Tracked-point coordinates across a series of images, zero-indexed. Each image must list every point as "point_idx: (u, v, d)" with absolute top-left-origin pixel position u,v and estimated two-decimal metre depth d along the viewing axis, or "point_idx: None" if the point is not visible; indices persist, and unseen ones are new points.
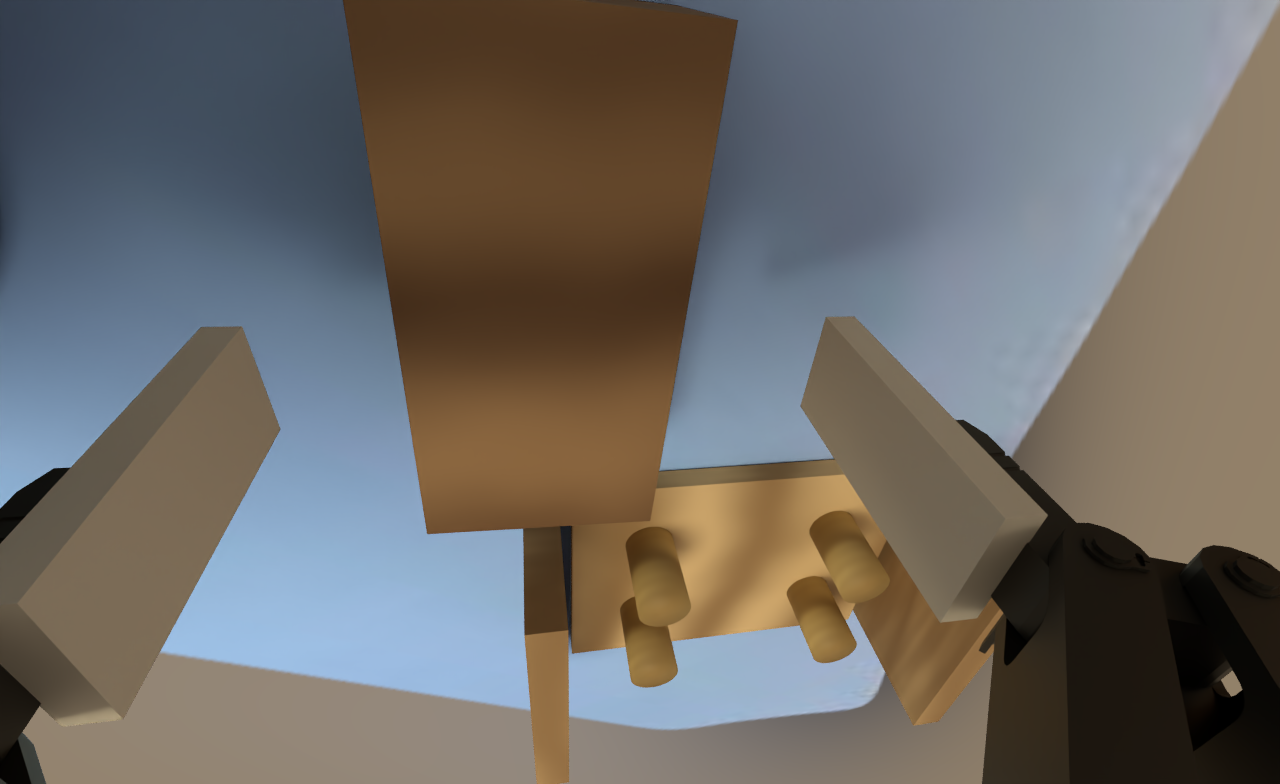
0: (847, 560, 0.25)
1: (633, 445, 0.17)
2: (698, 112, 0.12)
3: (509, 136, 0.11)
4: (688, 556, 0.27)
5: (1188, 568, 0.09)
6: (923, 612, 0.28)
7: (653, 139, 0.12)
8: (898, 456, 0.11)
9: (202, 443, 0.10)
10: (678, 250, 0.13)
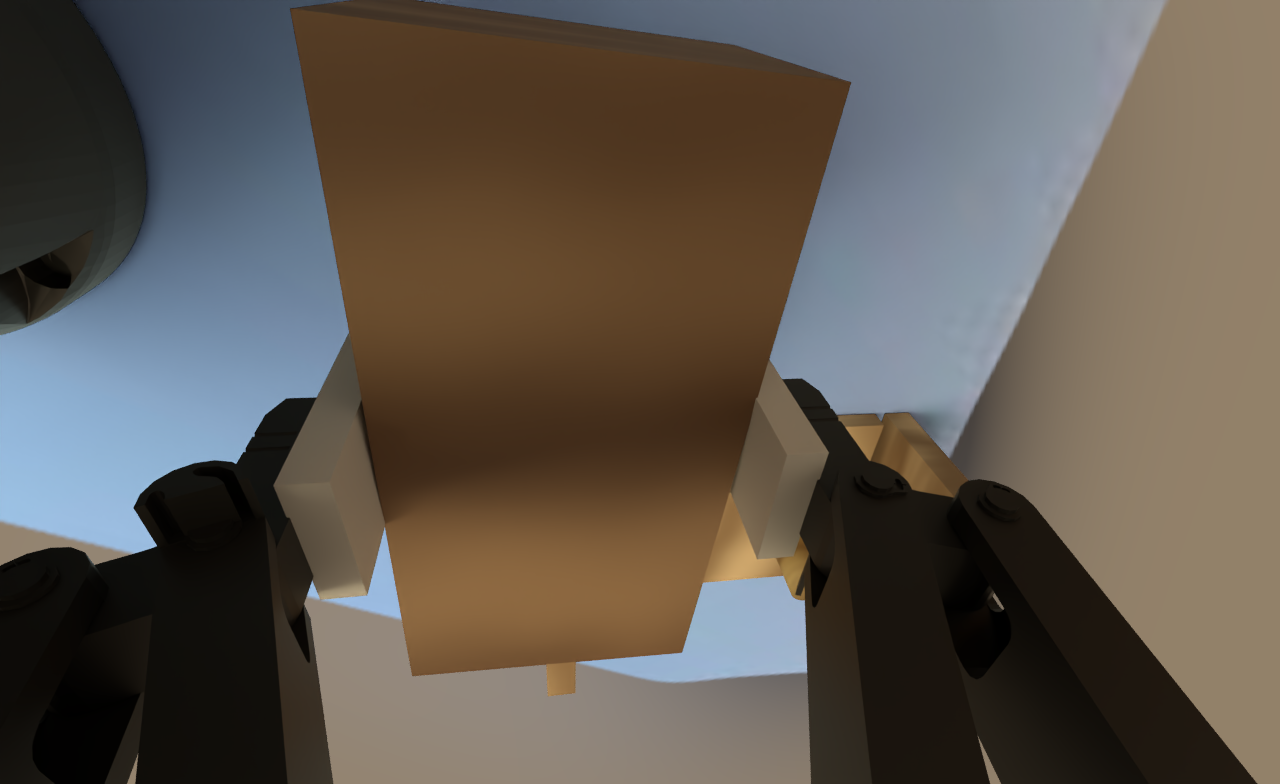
0: None
1: (668, 577, 0.14)
2: (785, 199, 0.09)
3: (530, 229, 0.08)
4: None
5: (952, 507, 0.09)
6: None
7: (724, 233, 0.09)
8: None
9: None
10: (743, 364, 0.10)
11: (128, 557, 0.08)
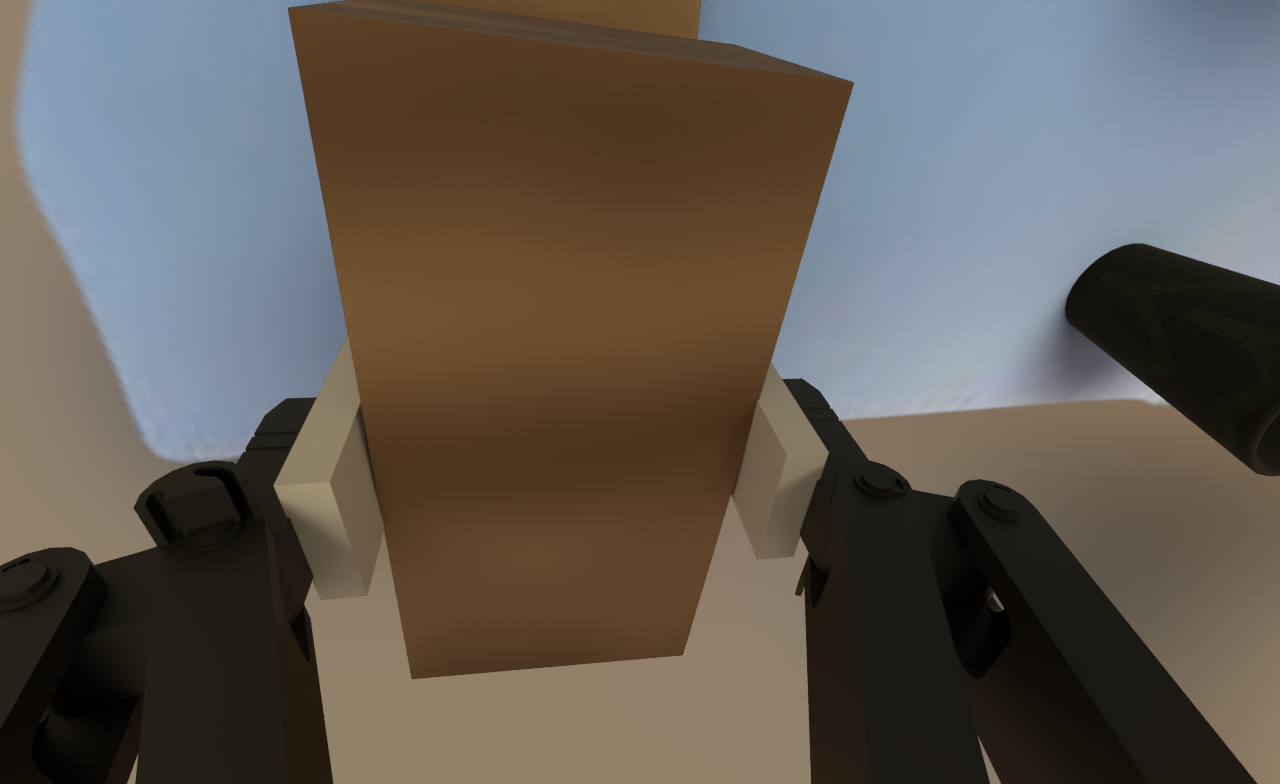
0: None
1: (669, 580, 0.14)
2: (788, 200, 0.09)
3: (530, 231, 0.08)
4: None
5: (952, 507, 0.09)
6: None
7: (725, 235, 0.09)
8: None
9: None
10: (744, 366, 0.10)
11: (128, 557, 0.08)
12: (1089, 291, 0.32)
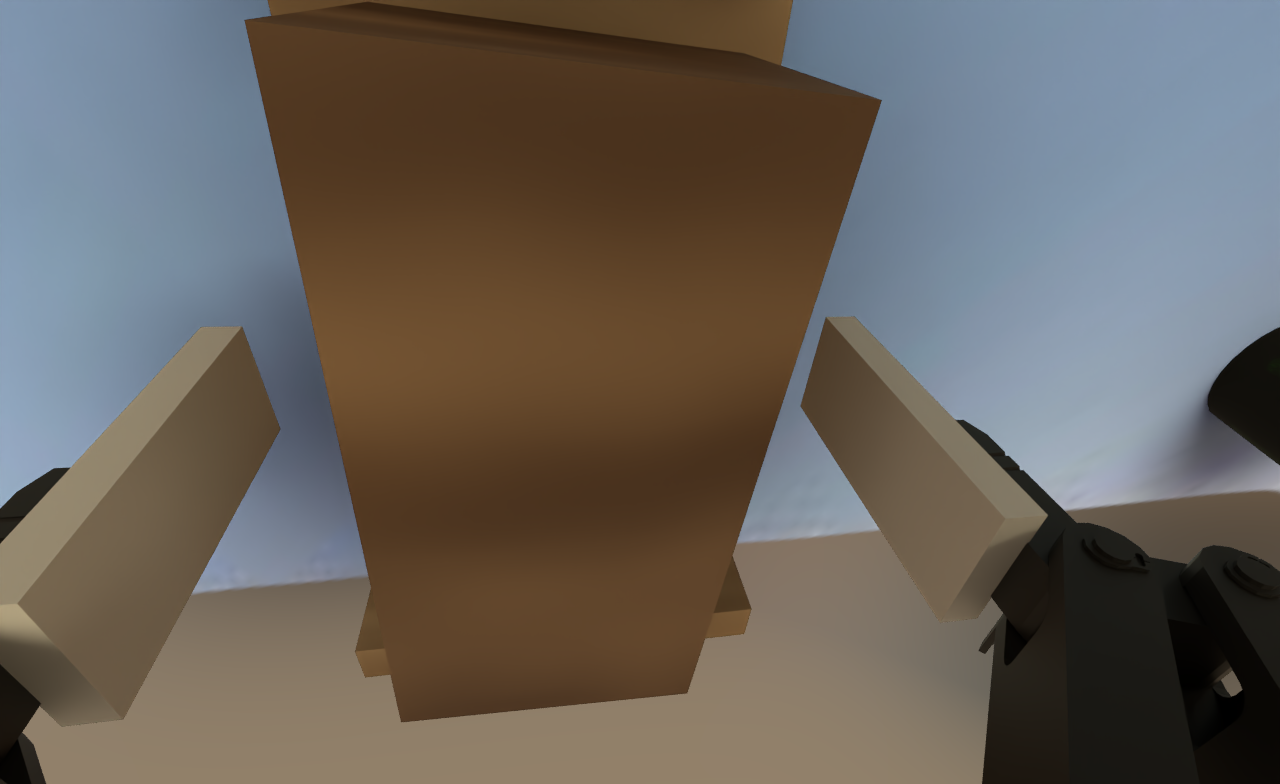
0: None
1: (673, 619, 0.13)
2: (806, 228, 0.08)
3: (523, 262, 0.08)
4: None
5: (1188, 568, 0.09)
6: None
7: (737, 264, 0.08)
8: (898, 456, 0.11)
9: (202, 443, 0.10)
10: (756, 402, 0.10)
11: None
12: (1250, 380, 0.25)
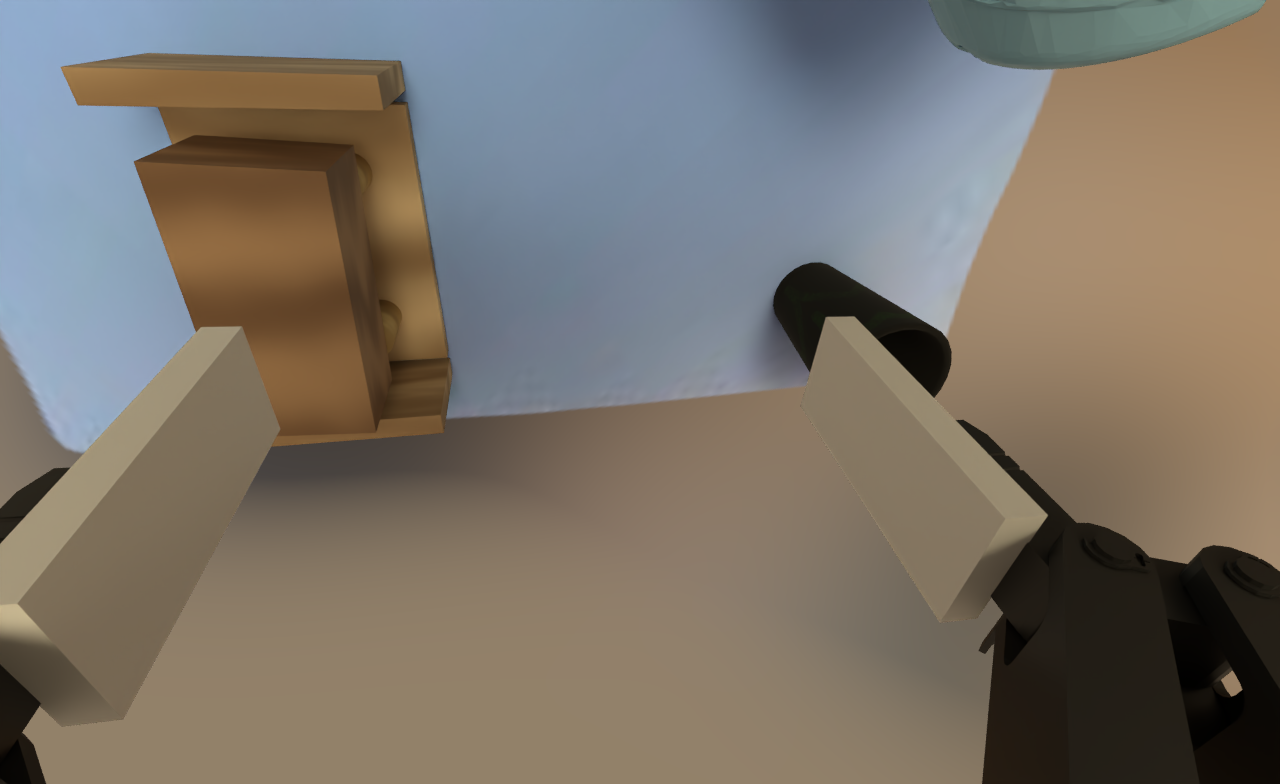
0: (389, 323, 0.35)
1: (347, 383, 0.30)
2: (320, 210, 0.25)
3: (228, 223, 0.25)
4: None
5: (1188, 568, 0.09)
6: None
7: (301, 222, 0.25)
8: (898, 456, 0.11)
9: (202, 443, 0.10)
10: (334, 274, 0.27)
11: None
12: (779, 300, 0.43)
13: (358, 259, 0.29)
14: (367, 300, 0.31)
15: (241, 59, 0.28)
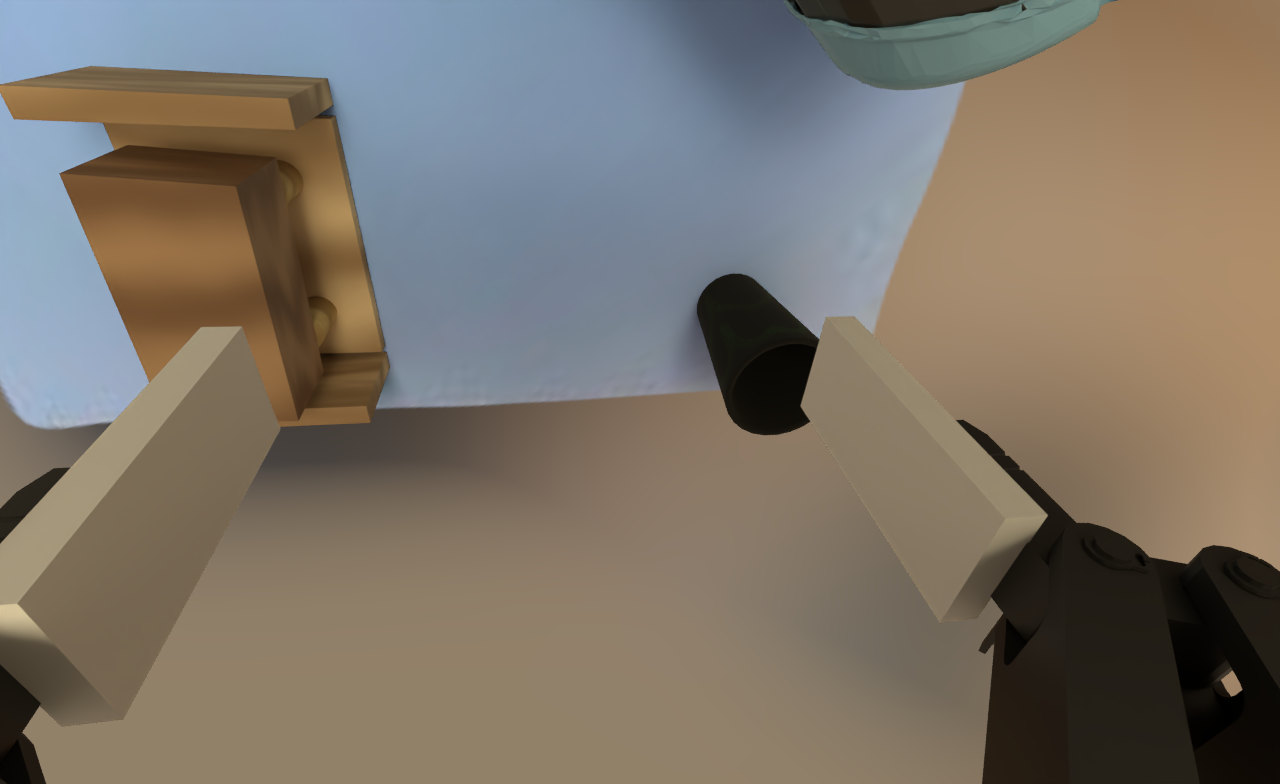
0: (320, 319, 0.38)
1: (268, 375, 0.33)
2: (233, 220, 0.28)
3: (148, 229, 0.27)
4: None
5: (1188, 568, 0.09)
6: None
7: (216, 230, 0.28)
8: (898, 456, 0.11)
9: (202, 443, 0.10)
10: (250, 277, 0.29)
11: None
12: (700, 308, 0.45)
13: (279, 262, 0.32)
14: (290, 299, 0.34)
15: (174, 75, 0.31)
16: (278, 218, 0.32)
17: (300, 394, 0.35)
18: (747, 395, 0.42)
